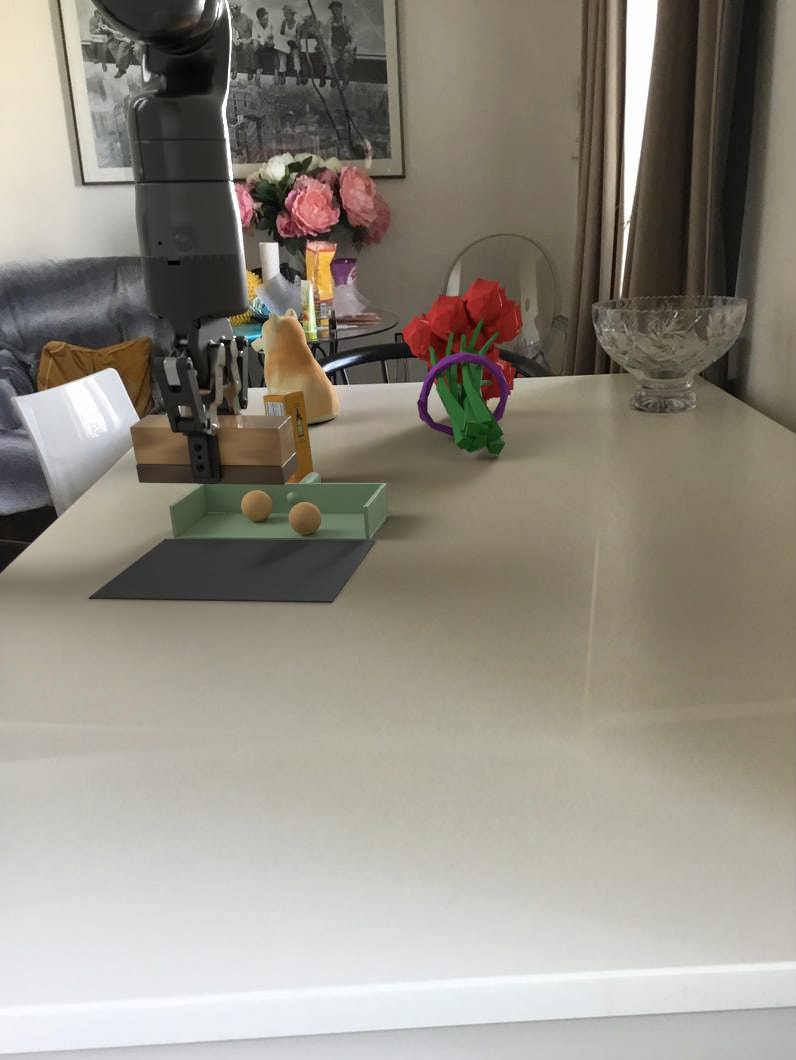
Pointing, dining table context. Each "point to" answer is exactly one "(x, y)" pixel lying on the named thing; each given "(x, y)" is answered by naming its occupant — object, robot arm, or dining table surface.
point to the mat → (239, 571)
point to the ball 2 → (305, 518)
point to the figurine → (295, 366)
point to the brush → (244, 443)
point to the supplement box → (294, 407)
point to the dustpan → (281, 510)
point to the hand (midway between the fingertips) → (218, 474)
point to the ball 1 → (257, 505)
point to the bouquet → (467, 361)
